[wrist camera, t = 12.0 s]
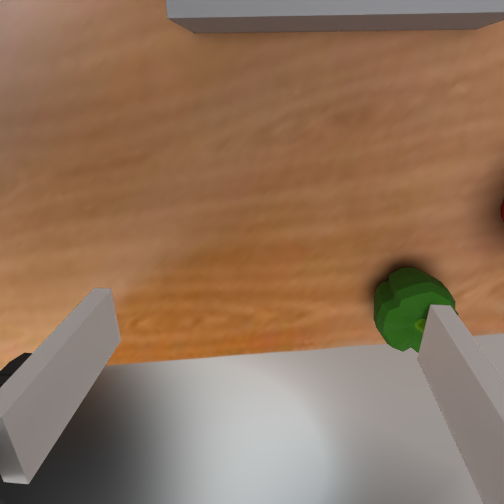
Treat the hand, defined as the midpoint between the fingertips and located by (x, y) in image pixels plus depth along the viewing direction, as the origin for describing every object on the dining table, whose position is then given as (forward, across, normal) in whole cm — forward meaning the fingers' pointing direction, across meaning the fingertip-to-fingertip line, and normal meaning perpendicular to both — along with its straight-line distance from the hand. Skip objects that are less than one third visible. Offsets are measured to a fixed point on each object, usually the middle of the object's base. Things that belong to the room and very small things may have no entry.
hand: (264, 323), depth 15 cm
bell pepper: (+27, +15, -14) cm, 34 cm away
